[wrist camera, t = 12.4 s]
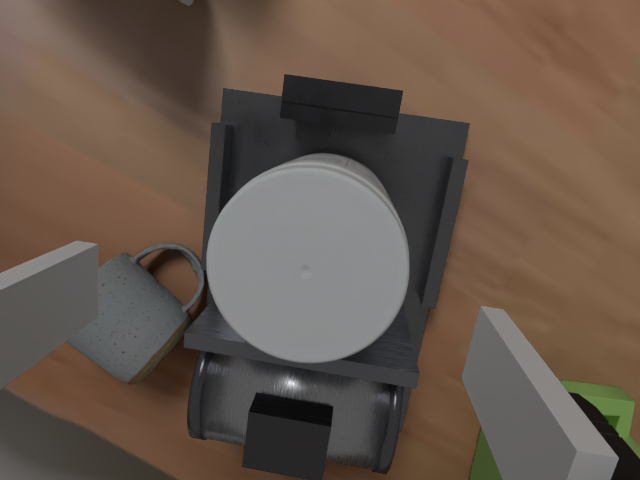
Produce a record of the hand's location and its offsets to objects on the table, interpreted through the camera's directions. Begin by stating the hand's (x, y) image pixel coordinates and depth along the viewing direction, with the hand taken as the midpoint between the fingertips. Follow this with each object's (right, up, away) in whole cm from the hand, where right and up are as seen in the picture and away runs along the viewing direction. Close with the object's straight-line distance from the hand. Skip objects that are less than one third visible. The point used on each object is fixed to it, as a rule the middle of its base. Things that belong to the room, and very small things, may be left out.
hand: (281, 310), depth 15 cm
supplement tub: (+2, +5, +19) cm, 20 cm away
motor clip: (+2, 0, +21) cm, 21 cm away
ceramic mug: (-13, -2, +23) cm, 27 cm away
